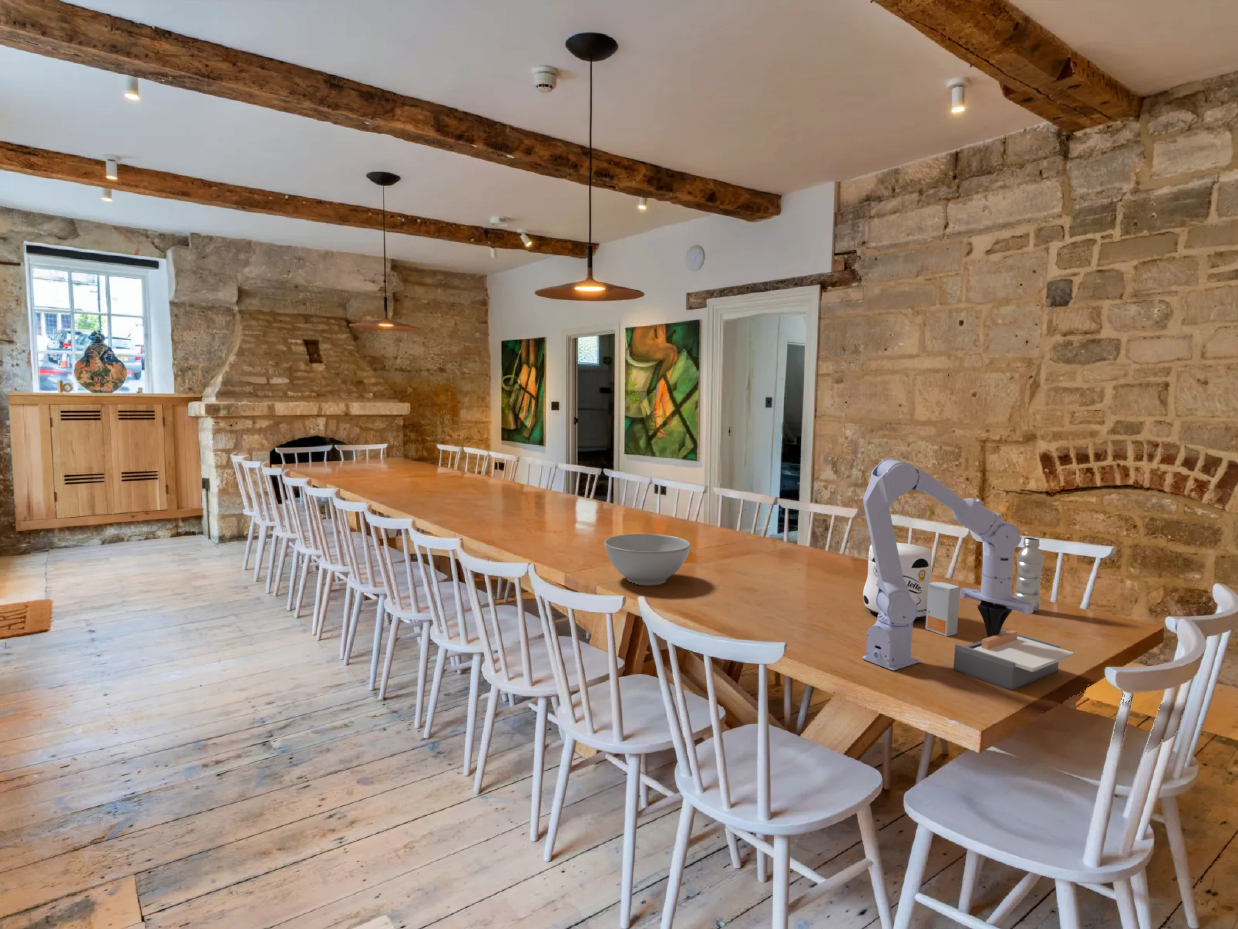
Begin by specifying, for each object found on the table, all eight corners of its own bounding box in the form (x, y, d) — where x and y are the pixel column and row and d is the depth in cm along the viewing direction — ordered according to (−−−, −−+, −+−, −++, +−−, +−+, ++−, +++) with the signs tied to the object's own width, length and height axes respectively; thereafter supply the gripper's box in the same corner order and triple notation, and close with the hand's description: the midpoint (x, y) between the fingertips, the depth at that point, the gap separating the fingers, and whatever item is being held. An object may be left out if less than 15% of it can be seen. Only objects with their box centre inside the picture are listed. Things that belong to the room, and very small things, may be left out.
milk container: (889, 626, 171) (893, 556, 170) (849, 606, 188) (852, 542, 186) (947, 622, 176) (951, 553, 174) (902, 602, 193) (906, 540, 191)
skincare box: (924, 629, 170) (927, 582, 169) (935, 626, 172) (938, 580, 171) (946, 637, 165) (950, 588, 164) (957, 634, 167) (960, 586, 166)
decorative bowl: (689, 571, 224) (690, 535, 223) (689, 594, 197) (690, 553, 196) (608, 568, 226) (609, 532, 225) (598, 590, 200) (598, 549, 199)
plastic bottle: (1023, 605, 192) (1028, 535, 190) (1045, 612, 186) (1051, 540, 184) (1006, 607, 190) (1011, 537, 188) (1029, 614, 183) (1034, 541, 181)
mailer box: (1011, 690, 134) (1013, 663, 134) (953, 669, 144) (955, 644, 144) (1057, 671, 144) (1059, 645, 144) (1000, 653, 154) (1002, 629, 154)
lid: (1032, 672, 132) (1033, 659, 132) (972, 652, 142) (973, 640, 142) (1073, 655, 141) (1074, 644, 141) (1013, 638, 151) (1014, 627, 151)
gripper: (1042, 581, 141) (1037, 644, 143) (974, 566, 153) (970, 624, 155) (1025, 585, 137) (1020, 650, 139) (956, 570, 150) (952, 630, 151)
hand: (992, 637), depth 146 cm, fingers closed
